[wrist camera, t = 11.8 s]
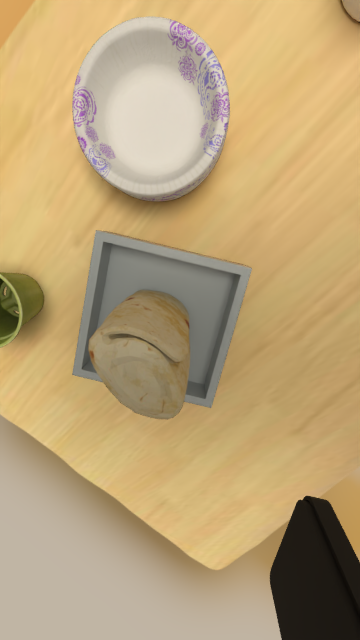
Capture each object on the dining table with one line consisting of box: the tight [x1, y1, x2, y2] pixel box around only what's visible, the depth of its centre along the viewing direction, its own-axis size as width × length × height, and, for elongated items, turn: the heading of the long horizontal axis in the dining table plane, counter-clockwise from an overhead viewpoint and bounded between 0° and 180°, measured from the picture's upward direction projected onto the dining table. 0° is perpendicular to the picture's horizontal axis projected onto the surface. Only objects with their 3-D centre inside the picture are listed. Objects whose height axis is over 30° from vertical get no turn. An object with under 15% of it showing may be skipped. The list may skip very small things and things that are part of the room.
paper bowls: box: [72, 17, 230, 201], centre depth 33 cm, size 15×15×8 cm
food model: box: [88, 290, 190, 419], centre depth 32 cm, size 10×7×20 cm
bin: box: [72, 230, 252, 408], centre depth 40 cm, size 18×18×5 cm
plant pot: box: [0, 272, 44, 348], centre depth 39 cm, size 9×9×9 cm
